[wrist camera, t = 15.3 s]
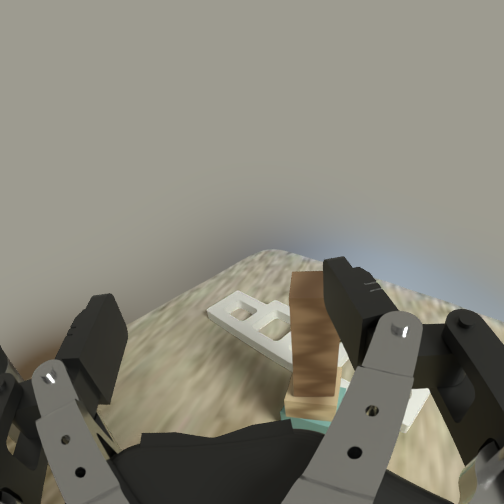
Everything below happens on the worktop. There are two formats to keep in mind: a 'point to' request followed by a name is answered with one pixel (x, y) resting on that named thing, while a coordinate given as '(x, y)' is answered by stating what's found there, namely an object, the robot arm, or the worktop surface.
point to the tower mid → (312, 403)
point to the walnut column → (312, 337)
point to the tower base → (312, 424)
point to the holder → (284, 339)
